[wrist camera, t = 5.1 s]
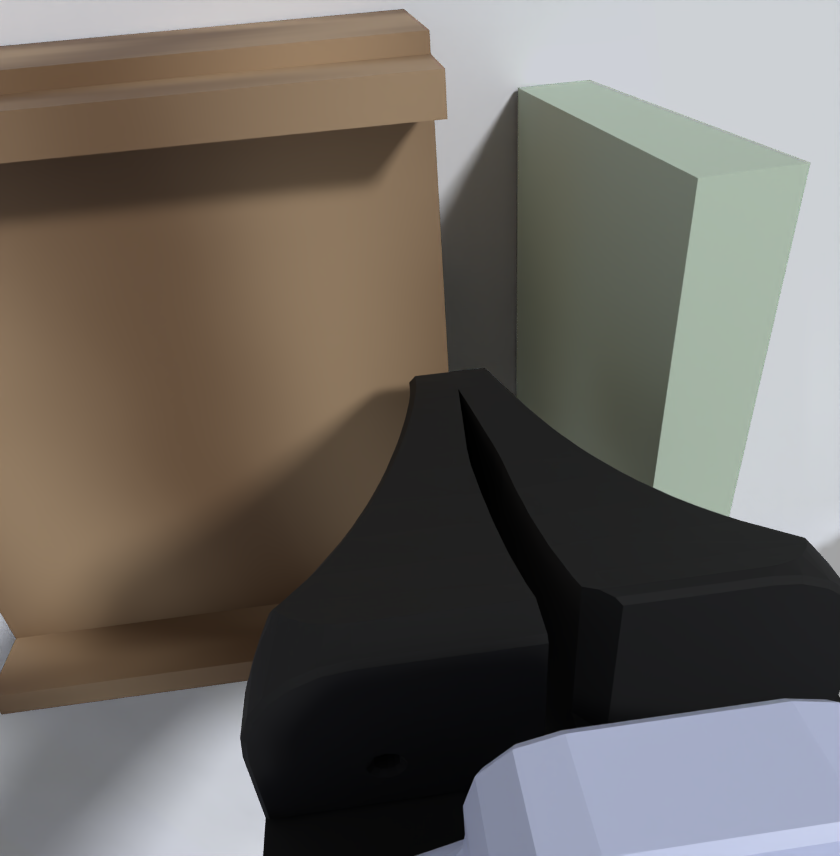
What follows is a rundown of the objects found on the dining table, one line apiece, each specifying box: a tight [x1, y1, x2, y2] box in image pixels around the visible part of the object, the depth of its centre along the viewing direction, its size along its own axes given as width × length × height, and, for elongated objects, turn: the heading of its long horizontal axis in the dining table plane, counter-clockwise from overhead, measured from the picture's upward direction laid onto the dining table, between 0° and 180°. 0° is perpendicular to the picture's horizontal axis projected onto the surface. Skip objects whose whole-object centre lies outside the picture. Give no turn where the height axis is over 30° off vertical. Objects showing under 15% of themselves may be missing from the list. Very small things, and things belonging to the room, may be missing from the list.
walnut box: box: [0, 9, 449, 714], centre depth 14 cm, size 10×12×6 cm
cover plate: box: [516, 80, 810, 517], centre depth 14 cm, size 7×9×2 cm
